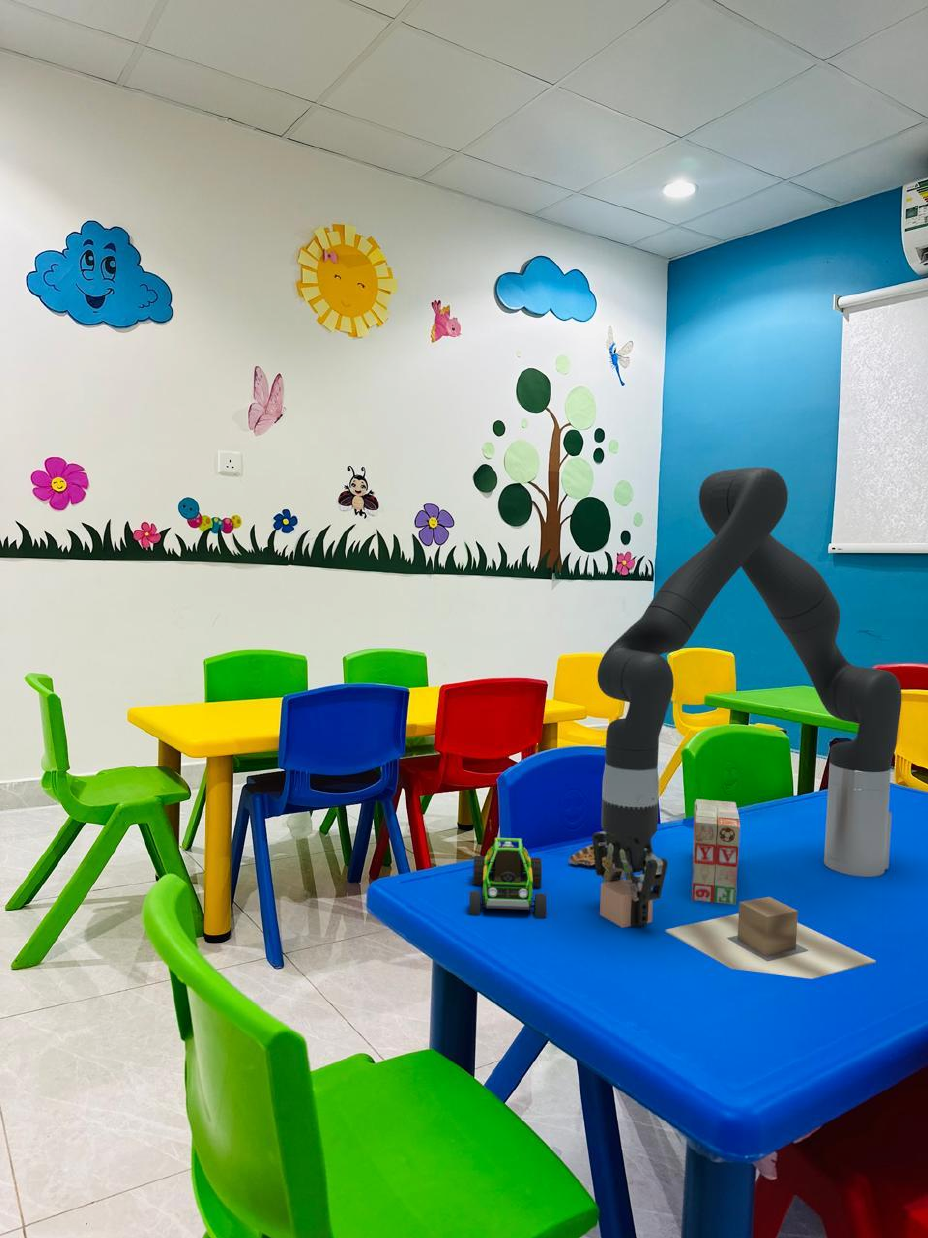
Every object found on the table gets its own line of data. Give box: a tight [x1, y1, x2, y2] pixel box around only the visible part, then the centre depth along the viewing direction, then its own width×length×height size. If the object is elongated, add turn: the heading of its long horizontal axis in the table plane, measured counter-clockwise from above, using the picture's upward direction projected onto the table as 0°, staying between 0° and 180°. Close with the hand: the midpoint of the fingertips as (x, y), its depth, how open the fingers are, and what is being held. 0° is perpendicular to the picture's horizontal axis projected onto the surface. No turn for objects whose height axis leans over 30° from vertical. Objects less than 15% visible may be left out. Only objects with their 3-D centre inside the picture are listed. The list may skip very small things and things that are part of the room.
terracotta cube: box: [599, 878, 654, 929], centre depth 123 cm, size 5×5×5 cm
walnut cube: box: [738, 896, 799, 956], centre depth 115 cm, size 5×5×5 cm
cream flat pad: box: [665, 912, 876, 980], centre depth 115 cm, size 18×18×1 cm
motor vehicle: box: [468, 819, 548, 919], centre depth 131 cm, size 11×18×10 cm, turn 177°
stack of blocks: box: [691, 798, 741, 906], centre depth 140 cm, size 21×6×12 cm, turn 165°
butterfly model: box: [568, 844, 606, 866], centre depth 147 cm, size 9×12×3 cm
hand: (625, 917), depth 123 cm, fingers closed on terracotta cube, 5 cm apart
